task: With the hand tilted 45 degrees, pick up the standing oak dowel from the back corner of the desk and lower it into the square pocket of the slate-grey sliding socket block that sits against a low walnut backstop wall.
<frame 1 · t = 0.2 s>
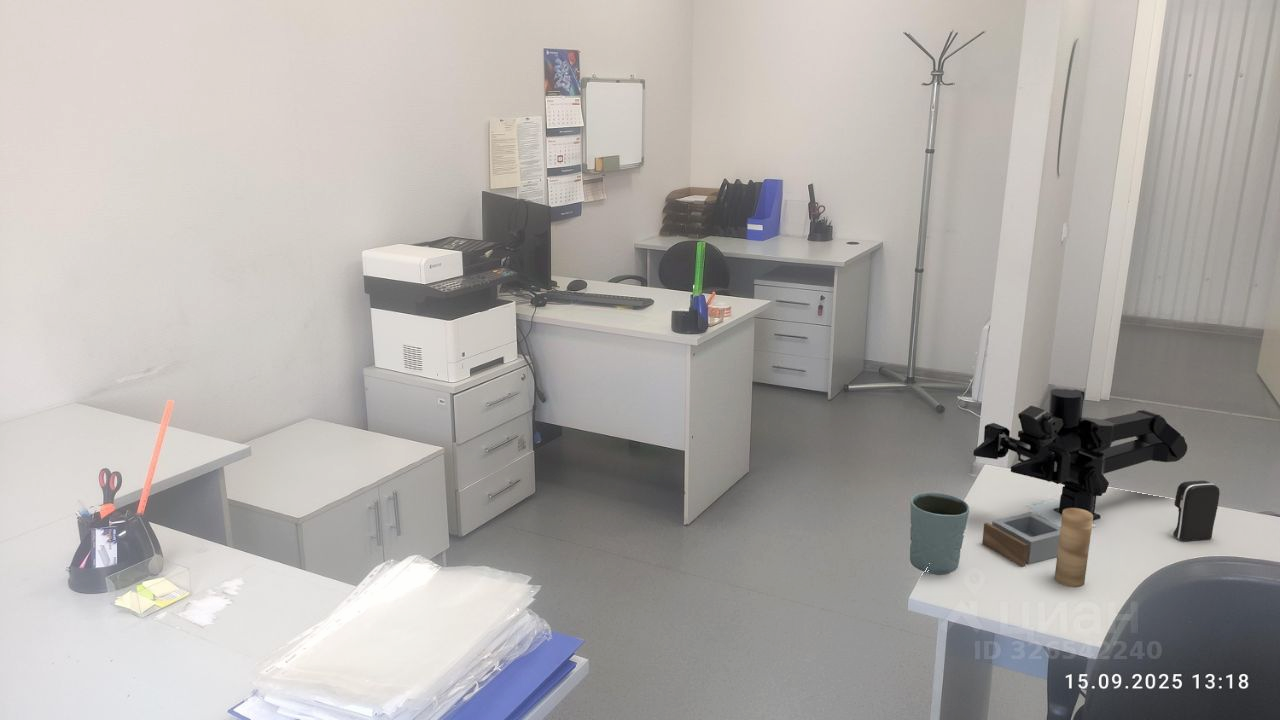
hand: (992, 461, 168), 17 cm above the table, tool horizontal, fingers open, 9 cm apart
socket block: (1029, 537, 168), point 2 cm above the table, slide at 0.3 cm
backstop wall: (1003, 555, 167), on the table
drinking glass: (934, 563, 165), on the table
oak dowel: (1069, 580, 157), on the table
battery: (1189, 537, 173), on the table
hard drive: (1060, 522, 183), on the table, touching arm
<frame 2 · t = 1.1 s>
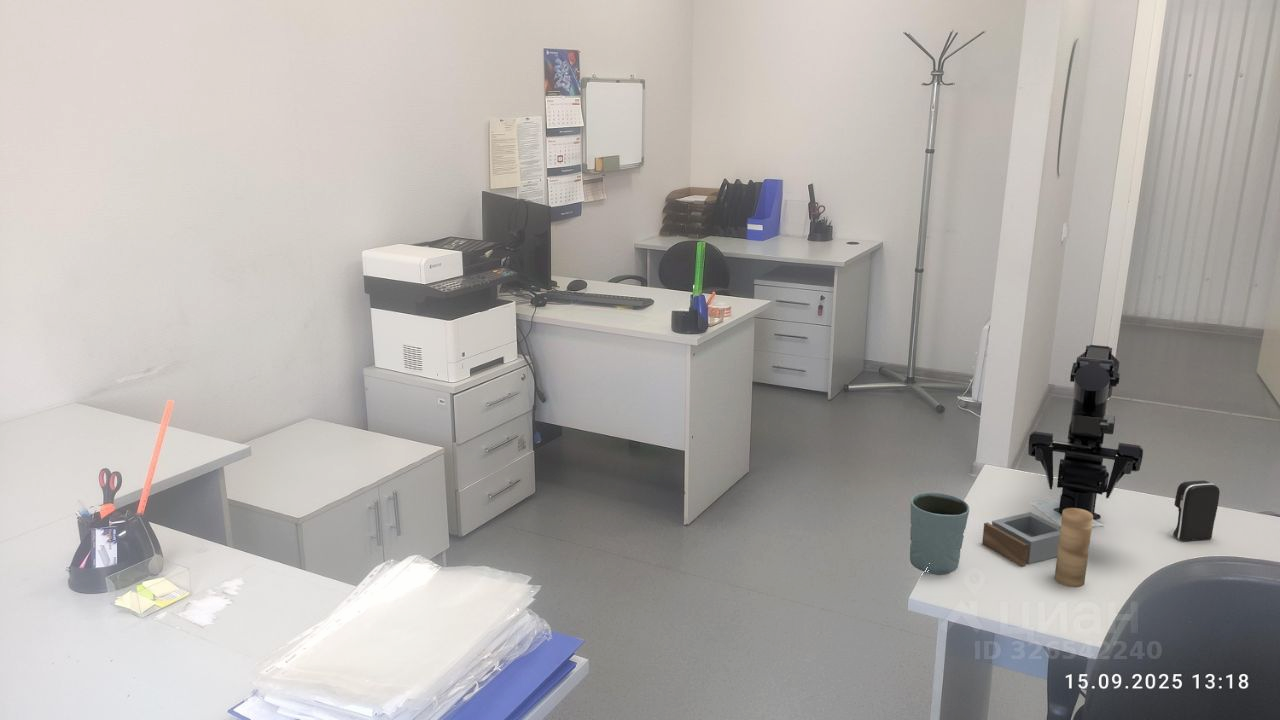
hand: (1078, 492, 161), 14 cm above the table, tool tilted 45°, fingers open, 9 cm apart
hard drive: (1065, 521, 183), on the table, touching arm
everything else where it was.
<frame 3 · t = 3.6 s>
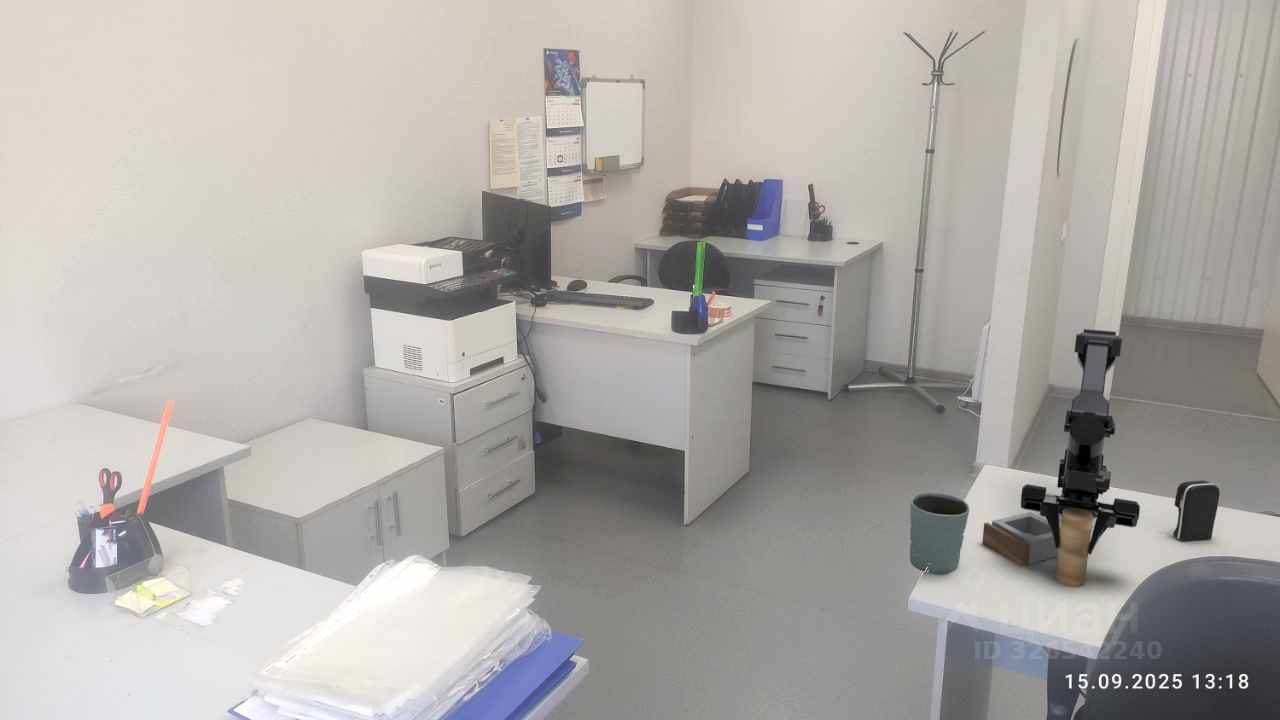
hand: (1073, 550, 154), 7 cm above the table, tool tilted 45°, fingers closed on oak dowel, 5 cm apart
oak dowel: (1069, 580, 157), on the table, touching gripper
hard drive: (1072, 520, 183), on the table, touching arm
everything else where it was.
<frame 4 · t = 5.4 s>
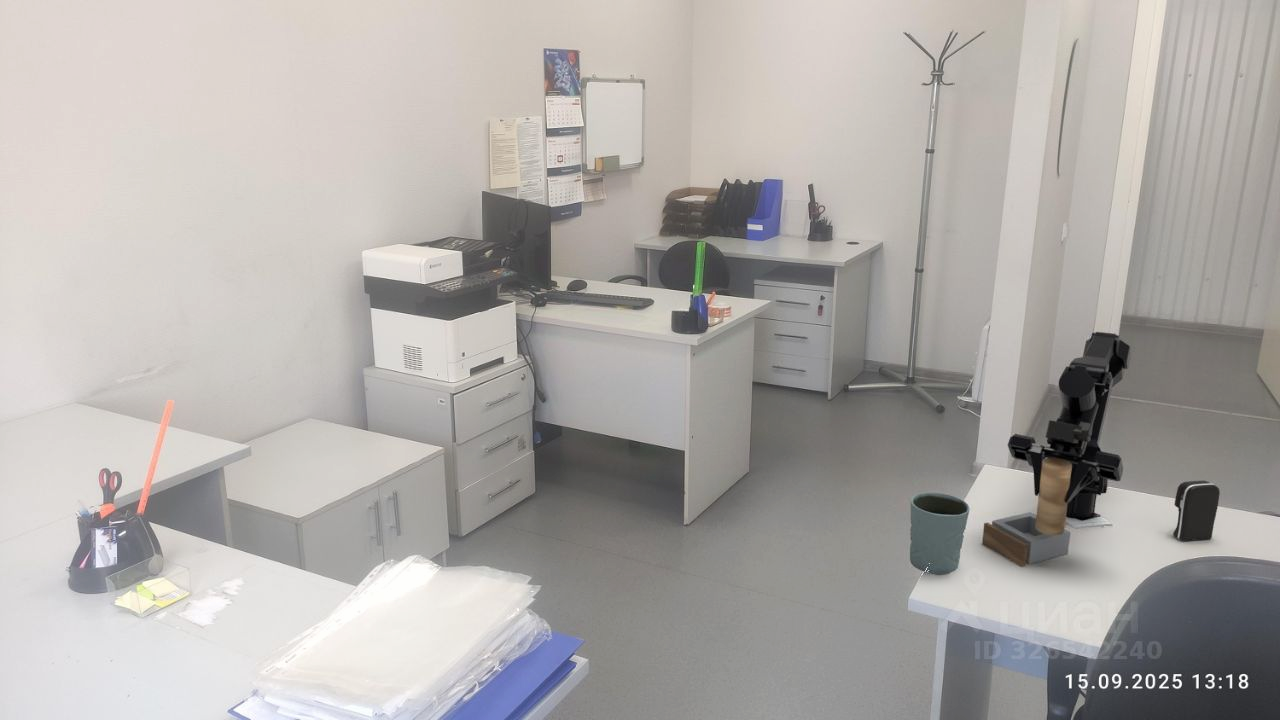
hand: (1051, 498, 159), 13 cm above the table, tool tilted 45°, fingers closed on oak dowel, 5 cm apart
oak dowel: (1049, 529, 162), point 7 cm above the table, touching gripper
everything else where it was.
when the fingers open (9 cm above the table, at t = 7.2 s): oak dowel drops 1 cm, resting on socket block.
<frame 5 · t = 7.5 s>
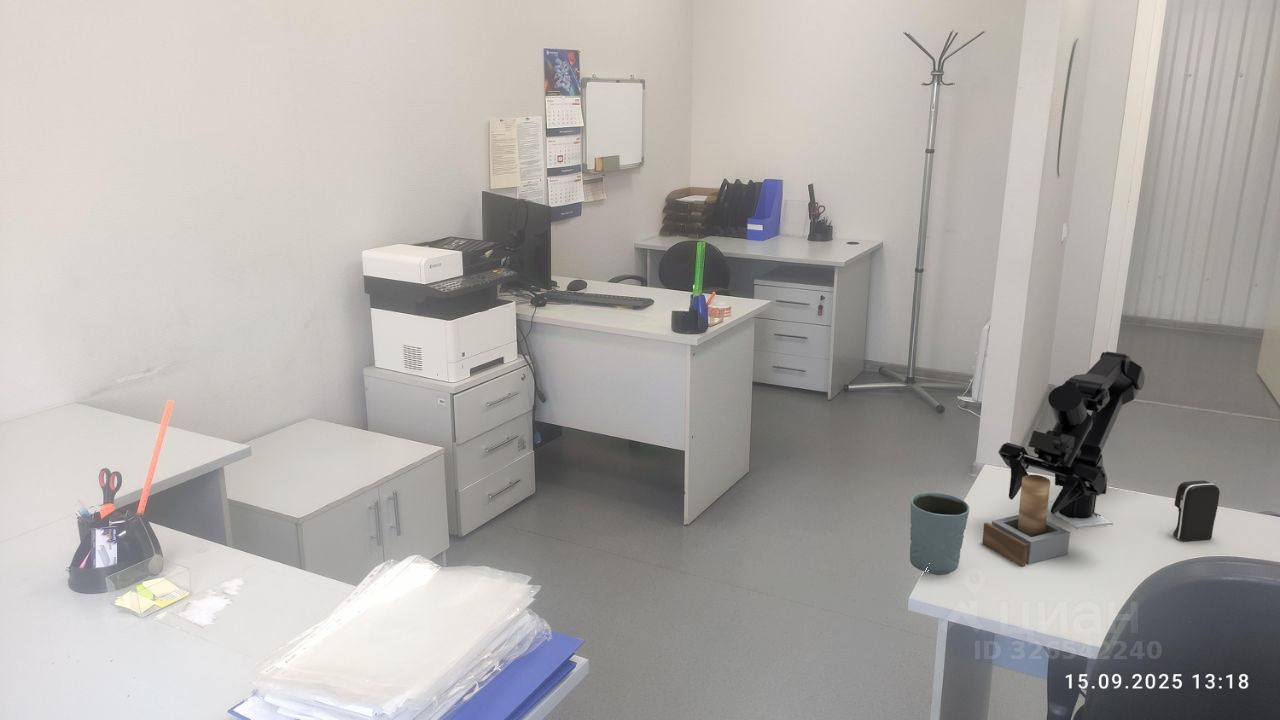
hand: (1030, 505, 166), 9 cm above the table, tool tilted 45°, fingers open, 8 cm apart
socket block: (1029, 537, 168), point 2 cm above the table, slide at 0.4 cm, touching oak dowel
oak dowel: (1030, 542, 169), point 1 cm above the table, touching socket block
everything else where it was.
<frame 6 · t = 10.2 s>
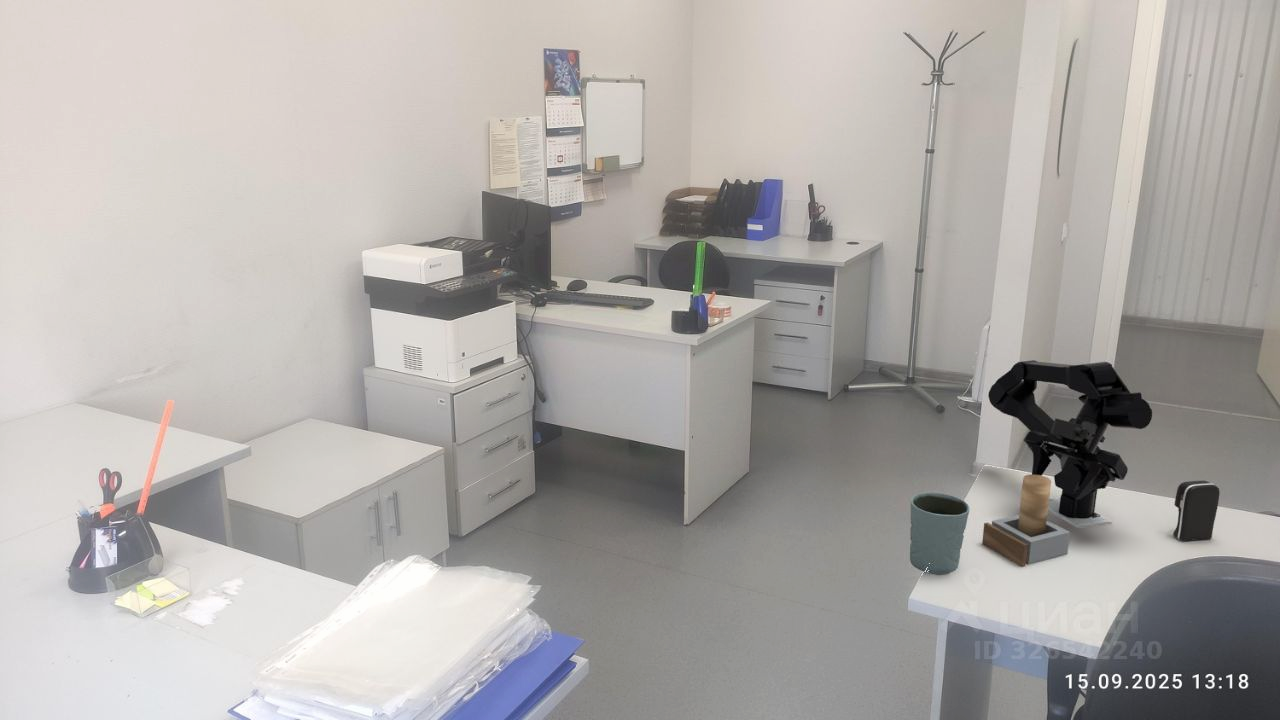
hand: (1054, 490, 172), 10 cm above the table, tool tilted 45°, fingers open, 9 cm apart
nothing on the table moved.
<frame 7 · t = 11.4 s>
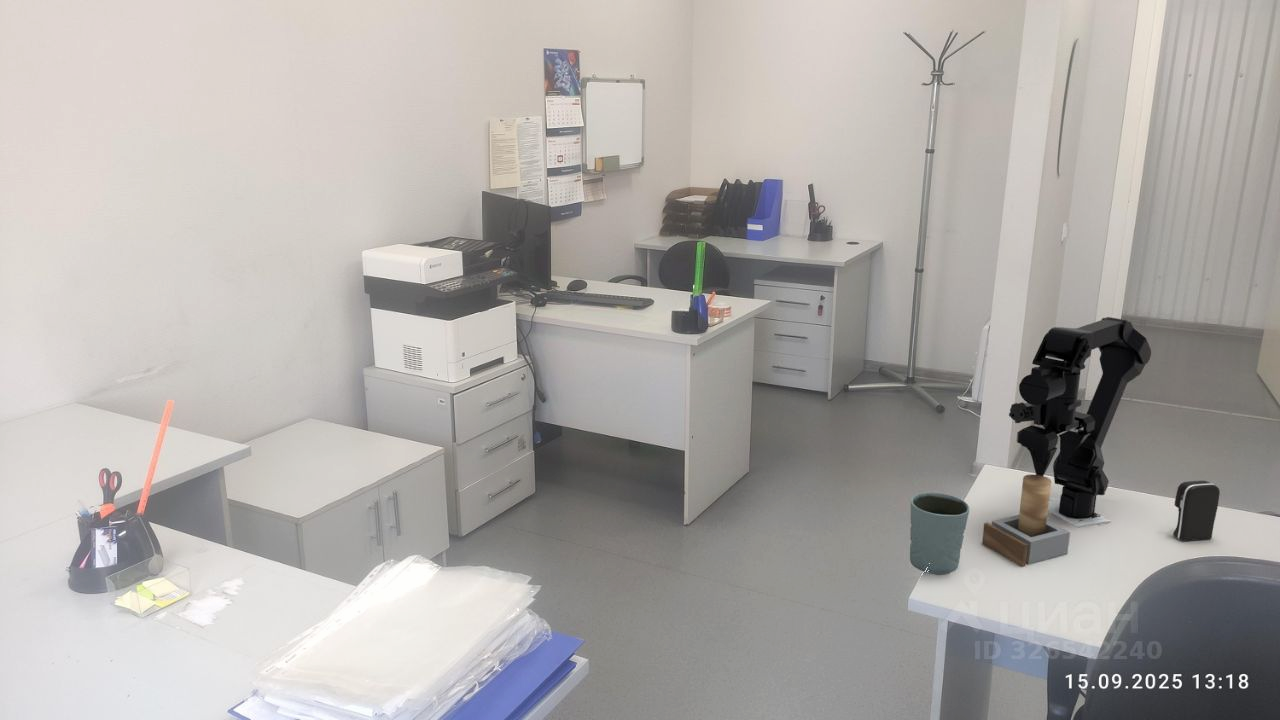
hand: (1051, 471, 172), 13 cm above the table, tool pointing down, fingers open, 9 cm apart
nothing on the table moved.
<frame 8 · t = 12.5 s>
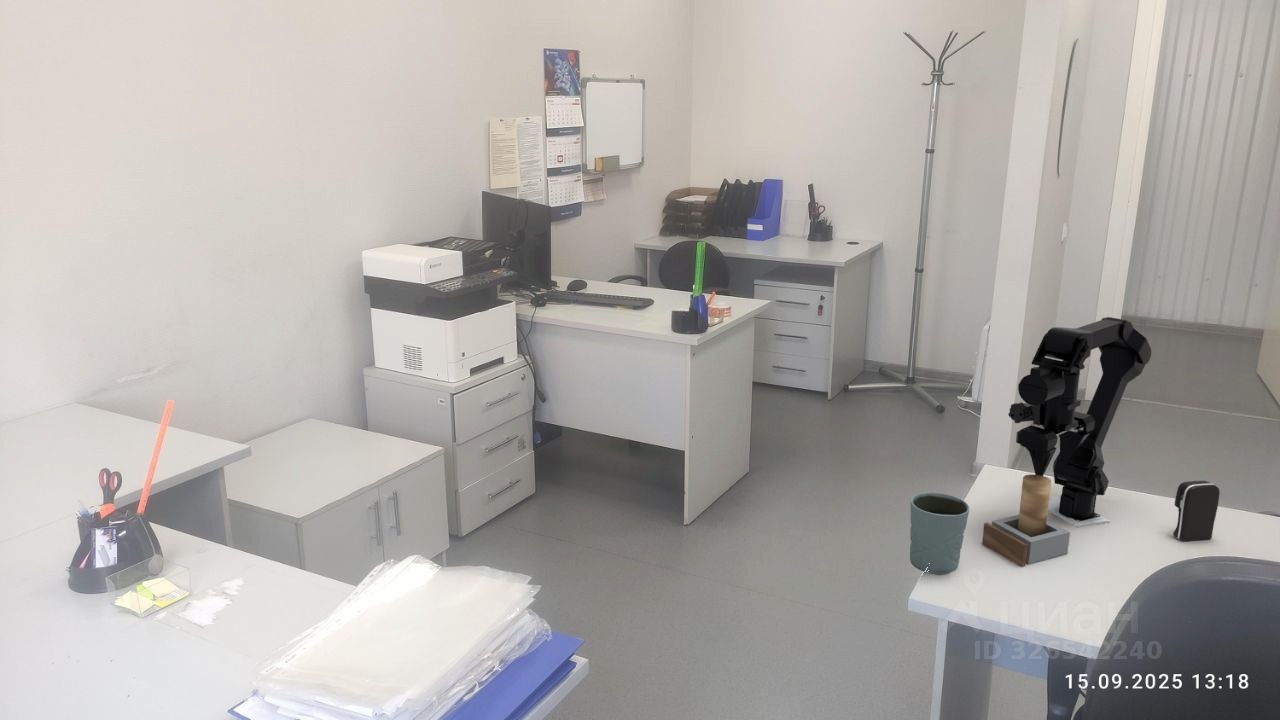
hand: (1051, 471, 172), 13 cm above the table, tool pointing down, fingers open, 9 cm apart
nothing on the table moved.
at the end: oak dowel 0.9 cm off-centre on the socket block, point 1.0 cm above the socket block's base; oak dowel tilted 0°; the gripper is holding nothing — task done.
